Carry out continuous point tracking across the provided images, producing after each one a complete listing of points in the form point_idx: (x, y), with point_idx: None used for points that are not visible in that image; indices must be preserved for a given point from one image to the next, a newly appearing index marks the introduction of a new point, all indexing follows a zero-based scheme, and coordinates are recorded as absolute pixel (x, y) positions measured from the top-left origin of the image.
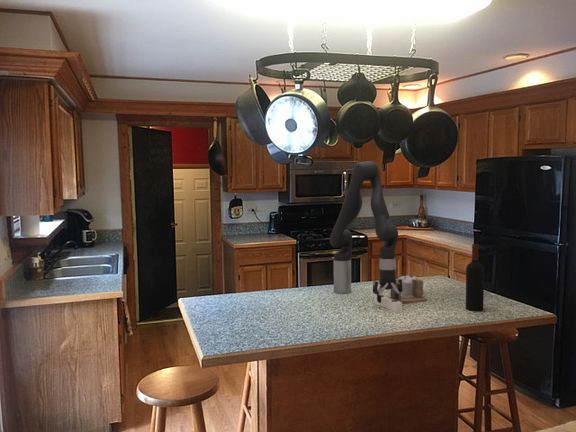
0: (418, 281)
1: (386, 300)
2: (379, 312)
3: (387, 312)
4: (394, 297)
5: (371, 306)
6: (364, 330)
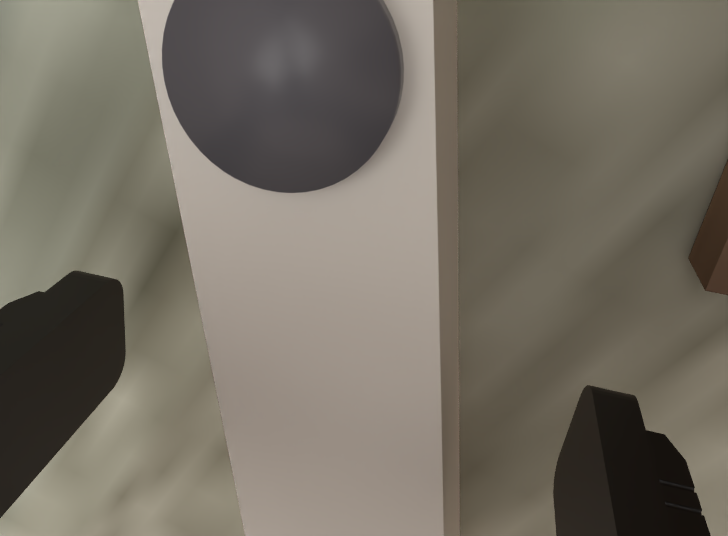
0: None
1: (236, 455)
2: None
3: (164, 528)
4: (595, 446)
5: (34, 88)
6: None
